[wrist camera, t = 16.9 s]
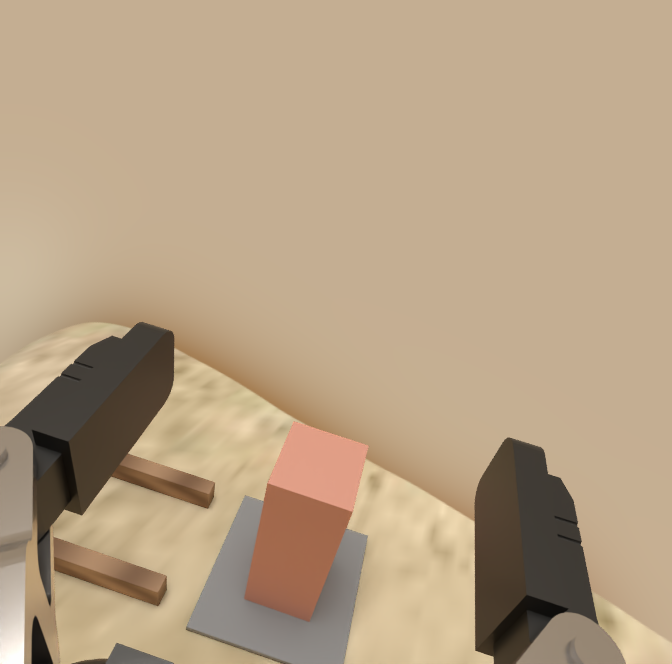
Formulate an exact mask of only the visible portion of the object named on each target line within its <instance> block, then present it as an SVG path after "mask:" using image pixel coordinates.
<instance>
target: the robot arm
mask: <svg viewBox="0 0 672 664" xmlns="http://www.w3.org/2000/svg"><path fill="white" fill-rule="evenodd" d="M173 381H174V335H173V332H172V331H169V330H166V329H163V328H160V327H156V326H153V325H150V324H147V323H144V322H140V323H138V324H136V325H135V326H134V327H133V328H132V329H131V330H130V331H129V332H128V333H127V334H126V335H125V336H124V337H123V338H122V339H121V338H117V337H114V336H111V337H109V338H106V339H104V340H102V341H100V342H98V343H96V344H94V345H91V346H90V347H89V348H88V349H86V350H85V351H84V352H83V353H82V354H81V355H80V356H79V357H78V358H77V359H76V360H75V361H74V364H71V365H69V366H68V367H67V368H66V369H65V370H64V371H63V372H62V373H61V376H60V377H59V376H58V377H57V378H56V379H55V380H54V381H52V382H51V383H50V384H49V385H48V386H47V387H46V388H45V389H44V390H43V391H42V392H41V393H40V394H39V395H38V396H36V397H35V398H34V399H33V400H32V401H31V402H30V403H29V404H28V405H27V406H26V407H25V408H24V409H23V410H22V411H21V412H19V413H18V414H17V415H16V416H15V417H14V418H13V419H12V420H11V421H10V422H9V423H7V424H6V425H5V426H0V664H60V653H59V641H58V633H57V626H56V616H55V587H54V545H53V525H52V524H53V523H54V522H55V520H56V519H57V518H58V517H59V515H60V514H61V513H62V512H63V510H64V509H65V510H68V511H71V512H74V513H77V514H80V515H83V513H84V512H85V511H86V509H87V508H88V507H89V505H90V504H91V503H92V501H93V500H94V498H95V497H96V496H97V494H98V493H99V492H100V490H101V489H102V488H103V486H104V485H105V484H106V482H107V481H108V479H109V478H110V477H111V475H112V474H113V473H114V471H115V470H116V469H117V467H118V466H119V465H120V463H121V462H122V461H123V459H124V458H125V456H126V455H127V454H128V452H129V451H130V450H131V448H132V447H133V446H134V444H135V443H136V442H137V440H138V439H139V437H140V436H141V435H142V433H143V432H144V431H145V429H146V428H147V427H148V425H149V424H150V423H151V421H152V420H153V419H154V417H155V416H156V414H157V413H158V412H159V410H160V409H161V408H162V406H163V405H164V404H165V402H166V400H167V399H168V397H169V394H170V392H171V389H172V386H173ZM577 524H578V521H577V516H576V511H575V506H574V501H573V499H572V497H571V496H570V494H569V492H568V490H567V489H566V487H565V485H564V484H563V482H562V480H561V479H560V478H559V477H555V476H552V475H549V474H548V472H547V465H546V458H545V453H544V450H543V449H542V448H541V447H538V446H535V445H532V444H528V443H525V442H522V441H519V440H515V439H512V438H507V439H505V440H504V442H503V443H502V445H501V447H500V448H499V450H498V451H497V453H496V455H495V456H494V458H493V459H492V461H491V463H490V465H489V466H488V468H487V469H486V471H485V472H484V474H483V476H482V478H481V479H480V482H479V484H478V487H477V491H476V497H475V651H478V652H481V653H484V654H487V655H490V656H493V657H494V664H626V663H625V660H624V658H623V656H622V653H621V651H620V650H619V648H618V647H617V645H616V643H615V642H614V641H613V639H612V638H611V637H610V636H609V635H608V634H607V633H606V631H605V630H604V629H602V628H601V627H600V626H599V624H598V621H597V617H596V612H595V607H594V602H593V597H592V592H591V587H590V582H589V577H588V572H587V567H586V562H585V557H584V552H583V547H582V546H581V542H582V541H581V536H580V531H579V528H578V527H577ZM72 664H174V663H172V662H169V661H167V660H164V659H161V658H158V657H155V656H152V655H150V654H147V653H144V652H141V651H138V650H135V649H133V648H130V647H127V646H124V645H121V644H118V643H116V645H115V647H114V649H113V651H112V653H111V654H110V656H109V658H108V659H94V660H85V661H80V662H76V663H72Z"/></svg>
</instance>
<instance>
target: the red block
mask: <svg viewBox="0 0 672 664" xmlns="http://www.w3.org/2000/svg"><path fill="white" fill-rule="evenodd" d="M367 449H368V445H364V444H362V443H359V442H356V441H353V440H350V439H347V438H343V437H340V436H337V435H334V434H331V433H328V432H325V431H322V430H319V429H316V428H313V427H310V426H307V425H304V424H301V423H298V422H293V424H292V427H291V429H290V431H289V434H288V436H287V438H286V441H285V443H284V445H283V448H282V450H281V453H280V455H279V457H278V460H277V462H276V464H275V467H274V469H273V471H272V474H271V476H270V479H269V481H268V483H267V488H266V493H265V498H264V503H263V508H262V513H261V518H260V522H259V527H258V532H257V537H256V542H255V547H254V552H253V557H252V562H251V567H250V572H249V576H248V581H247V586H246V591H245V596H244V599H245V600H248V601H251V602H254V603H257V604H260V605H262V606H265V607H268V608H271V609H274V610H277V611H279V612H282V613H285V614H288V615H291V616H294V617H296V618H299V619H302V620H305V621H308V622H309V621H310V619H311V616H312V614H313V611H314V609H315V606H316V604H317V601H318V599H319V596H320V593H321V591H322V588H323V586H324V583H325V581H326V578H327V576H328V573H329V571H330V568H331V566H332V563H333V561H334V558H335V555H336V553H337V550H338V548H339V545H340V543H341V540H342V538H343V535H344V533H345V530H346V528H347V525H348V523H349V520H350V517H351V515H352V512H353V509H354V504H355V500H356V496H357V492H358V487H359V483H360V479H361V475H362V471H363V466H364V462H365V458H366V454H367Z"/></svg>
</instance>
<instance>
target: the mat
mask: <svg viewBox="0 0 672 664" xmlns="http://www.w3.org/2000/svg"><path fill="white" fill-rule="evenodd" d="M263 503H264V501H261V500H258V499H255V498H252V497H249V496H246V495H245V497H244V499H243V501H242V504H241V506H240V508H239V510H238V512H237V515H236V517H235V519H234V521H233V524H232V526H231V528H230V530H229V533H228V535H227V537H226V539H225V542H224V544H223V546H222V548H221V551H220V553H219V555H218V557H217V559H216V562H215V564H214V566H213V568H212V571H211V573H210V575H209V577H208V580H207V582H206V584H205V586H204V589H203V591H202V593H201V595H200V598H199V600H198V602H197V604H196V606H195V609H194V611H193V613H192V615H191V618H190V620H189V622H188V624H187V627H186V629H187V630H189V631H192V632H195V633H198V634H201V635H204V636H207V637H209V638H212V639H215V640H218V641H221V642H224V643H227V644H230V645H232V646H235V647H238V648H241V649H244V650H247V651H250V652H252V653H255V654H258V655H261V656H264V657H267V658H270V659H272V660H275V661H278V662H281V663H284V664H344V658H345V653H346V648H347V642H348V637H349V632H350V627H351V621H352V616H353V611H354V606H355V600H356V595H357V590H358V584H359V579H360V574H361V569H362V563H363V558H364V553H365V548H366V542H367V537H368V536H367V535H364V534H361V533H358V532H355V531H352V530H349V529H346V530H345V533H344V535H343V538H342V540H341V543H340V545H339V548H338V550H337V553H336V555H335V558H334V561H333V563H332V566H331V568H330V571H329V573H328V576H327V578H326V581H325V583H324V586H323V588H322V591H321V593H320V596H319V599H318V601H317V604H316V606H315V609H314V611H313V614H312V616H311V619H310V621H309V622H308V621H305V620H302V619H299V618H296V617H294V616H291V615H288V614H285V613H282V612H279V611H277V610H274V609H271V608H268V607H265V606H262V605H260V604H257V603H254V602H251V601H248V600H245V599H244V596H245V591H246V586H247V581H248V576H249V572H250V567H251V562H252V557H253V552H254V547H255V542H256V537H257V532H258V527H259V522H260V518H261V513H262V508H263Z"/></svg>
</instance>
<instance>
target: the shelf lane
mask: <svg viewBox="0 0 672 664" xmlns="http://www.w3.org/2000/svg"><path fill="white" fill-rule="evenodd" d="M111 476H112V477H115V478H118V479H121V480H124V481H127V482H130V483H133V484H136V485H139V486H142V487H145V488H148V489H151V490H154V491H157V492H160V493H163V494H166V495H169V496H172V497H175V498H178V499H181V500H184V501H187V502H190V503H193V504H196V505H199V506H202V507H205V508H208V507H209V505H210V503H211V501H212V499H213V497H214V488H215V482H212V481H209V480H206V479H203V478H200V477H197V476H194V475H191V474H188V473H185V472H182V471H179V470H176V469H173V468H170V467H167V466H164V465H160V464H157V463H154V462H151V461H148V460H145V459H142V458H139V457H136V456H133V455H130V454H127V455H126V456H125V458H124V459H123V461H122V462H121V463H120V465H119V466H118V467H117V469H116V470H115V471H114V473H113V474H112V475H111ZM53 545H54V570H56V571H59V572H62V573H65V574H68V575H70V576H73V577H76V578H79V579H82V580H85V581H88V582H91V583H93V584H96V585H99V586H102V587H105V588H108V589H111V590H114V591H116V592H119V593H122V594H125V595H128V596H131V597H134V598H137V599H139V600H142V601H145V602H148V603H151V604H154V605H157V606H158V605H159V603H160V601H161V599H162V597H163V595H164V593H165V591H166V590H167V576H165V575H163V574H160V573H157V572H154V571H151V570H148V569H145V568H142V567H139V566H136V565H133V564H131V563H128V562H125V561H122V560H119V559H116V558H113V557H110V556H107V555H104V554H101V553H98V552H96V551H93V550H90V549H87V548H84V547H81V546H78V545H75V544H72V543H69V542H66V541H64V540H61V539H58V538H55V537H53Z"/></svg>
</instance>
